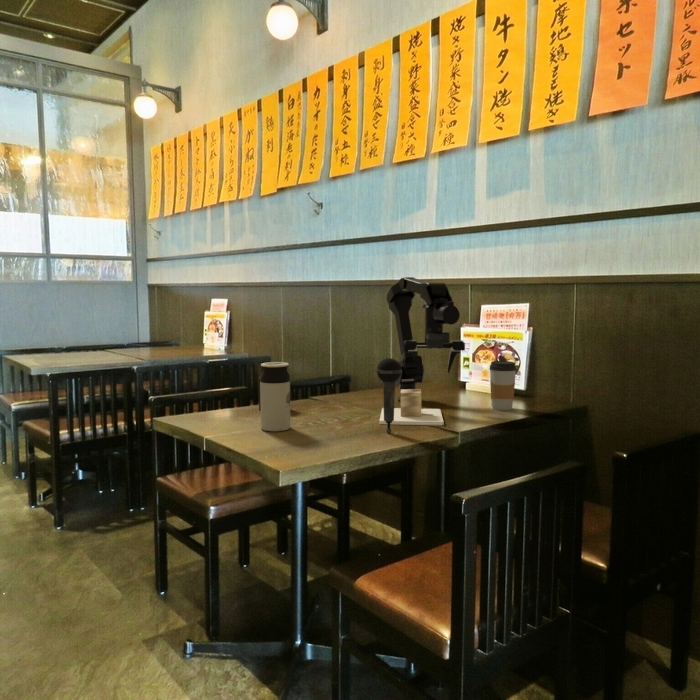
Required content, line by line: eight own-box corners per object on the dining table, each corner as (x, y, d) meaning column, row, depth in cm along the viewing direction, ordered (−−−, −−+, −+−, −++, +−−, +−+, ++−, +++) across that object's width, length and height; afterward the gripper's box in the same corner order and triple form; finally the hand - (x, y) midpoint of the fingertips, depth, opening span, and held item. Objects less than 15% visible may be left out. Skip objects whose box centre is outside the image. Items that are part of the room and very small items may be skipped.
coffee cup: (516, 412, 178) (517, 364, 176) (488, 410, 180) (490, 363, 178) (514, 406, 186) (515, 361, 185) (488, 405, 188) (489, 360, 186)
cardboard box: (400, 416, 167) (400, 392, 166) (400, 412, 173) (400, 388, 172) (421, 416, 167) (421, 392, 166) (420, 412, 173) (420, 388, 172)
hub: (382, 411, 180) (382, 393, 179) (439, 412, 178) (440, 394, 177) (379, 424, 162) (379, 405, 161) (443, 425, 160) (443, 406, 160)
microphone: (383, 437, 147) (383, 360, 145) (371, 431, 153) (371, 357, 151) (406, 434, 150) (407, 359, 148) (394, 429, 156) (394, 356, 154)
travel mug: (255, 430, 154) (254, 364, 153) (270, 424, 162) (269, 361, 160) (281, 433, 152) (281, 366, 150) (295, 426, 159) (294, 362, 157)
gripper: (404, 324, 171) (403, 375, 173) (467, 324, 169) (466, 376, 171) (404, 322, 182) (403, 370, 184) (463, 322, 180) (462, 371, 182)
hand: (433, 372), depth 180 cm, fingers open, 9 cm apart
